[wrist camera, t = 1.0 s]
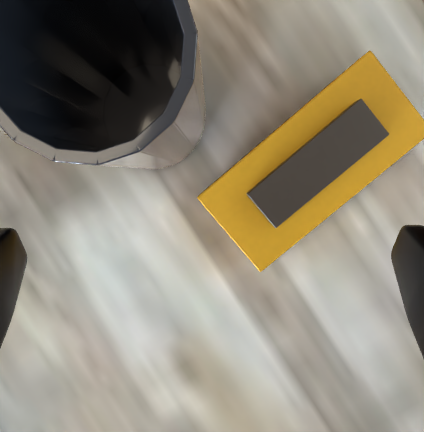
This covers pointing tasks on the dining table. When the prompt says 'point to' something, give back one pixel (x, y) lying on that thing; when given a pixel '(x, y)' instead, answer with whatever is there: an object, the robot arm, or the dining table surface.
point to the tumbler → (102, 80)
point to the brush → (315, 162)
